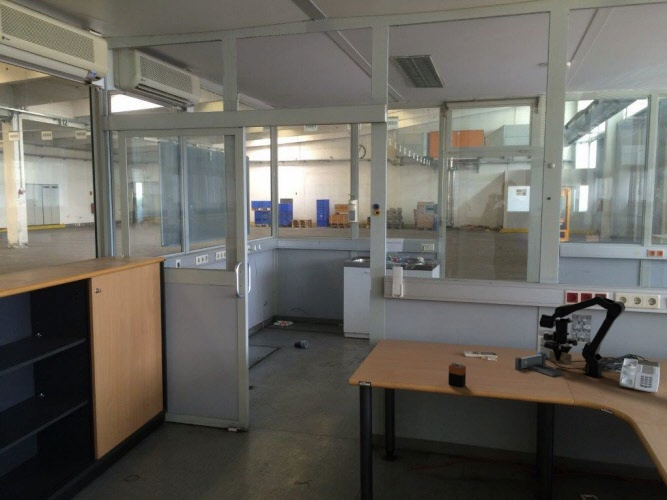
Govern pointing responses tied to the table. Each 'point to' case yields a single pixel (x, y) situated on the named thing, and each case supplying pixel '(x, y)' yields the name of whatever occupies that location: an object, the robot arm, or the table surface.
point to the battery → (457, 374)
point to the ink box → (541, 343)
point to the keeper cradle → (545, 370)
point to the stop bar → (561, 358)
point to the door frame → (518, 361)
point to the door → (531, 360)
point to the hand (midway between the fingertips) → (560, 360)
